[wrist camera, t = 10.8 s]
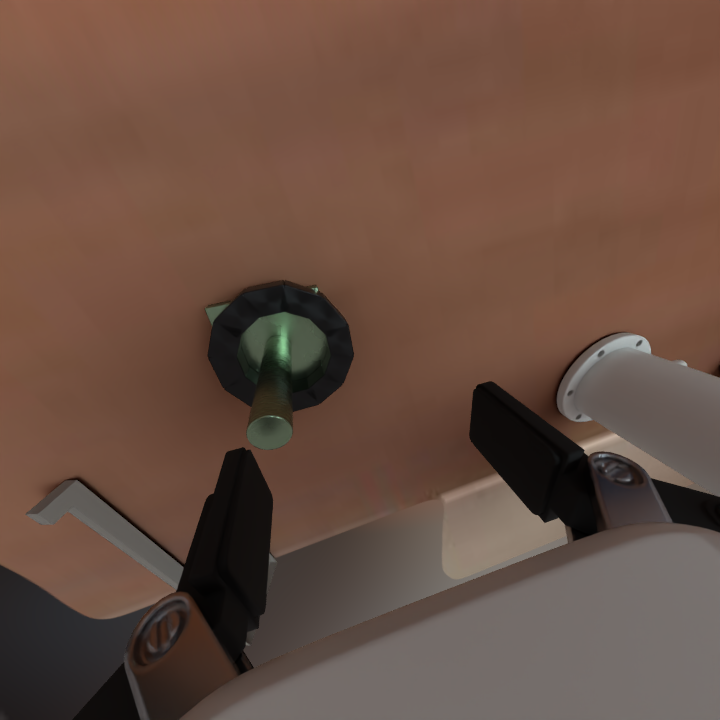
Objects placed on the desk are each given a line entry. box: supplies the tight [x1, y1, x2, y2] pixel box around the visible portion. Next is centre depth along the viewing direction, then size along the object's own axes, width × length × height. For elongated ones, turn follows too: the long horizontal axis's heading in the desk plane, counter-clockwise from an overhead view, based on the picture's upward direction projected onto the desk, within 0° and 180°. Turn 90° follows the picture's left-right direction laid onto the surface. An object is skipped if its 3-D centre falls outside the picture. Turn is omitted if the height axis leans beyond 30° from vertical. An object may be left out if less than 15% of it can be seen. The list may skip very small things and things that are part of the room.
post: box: [205, 285, 328, 450], centre depth 16 cm, size 8×8×11 cm
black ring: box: [208, 280, 354, 412], centre depth 20 cm, size 10×10×2 cm
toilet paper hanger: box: [25, 480, 277, 646], centre depth 26 cm, size 23×9×8 cm, turn 13°
